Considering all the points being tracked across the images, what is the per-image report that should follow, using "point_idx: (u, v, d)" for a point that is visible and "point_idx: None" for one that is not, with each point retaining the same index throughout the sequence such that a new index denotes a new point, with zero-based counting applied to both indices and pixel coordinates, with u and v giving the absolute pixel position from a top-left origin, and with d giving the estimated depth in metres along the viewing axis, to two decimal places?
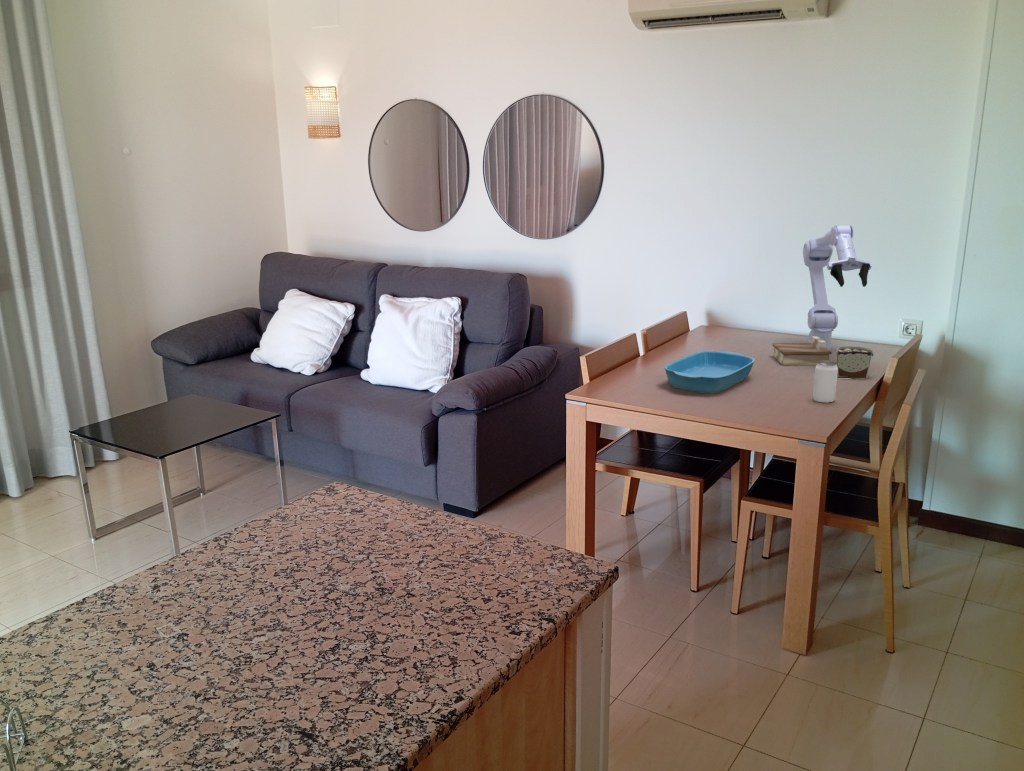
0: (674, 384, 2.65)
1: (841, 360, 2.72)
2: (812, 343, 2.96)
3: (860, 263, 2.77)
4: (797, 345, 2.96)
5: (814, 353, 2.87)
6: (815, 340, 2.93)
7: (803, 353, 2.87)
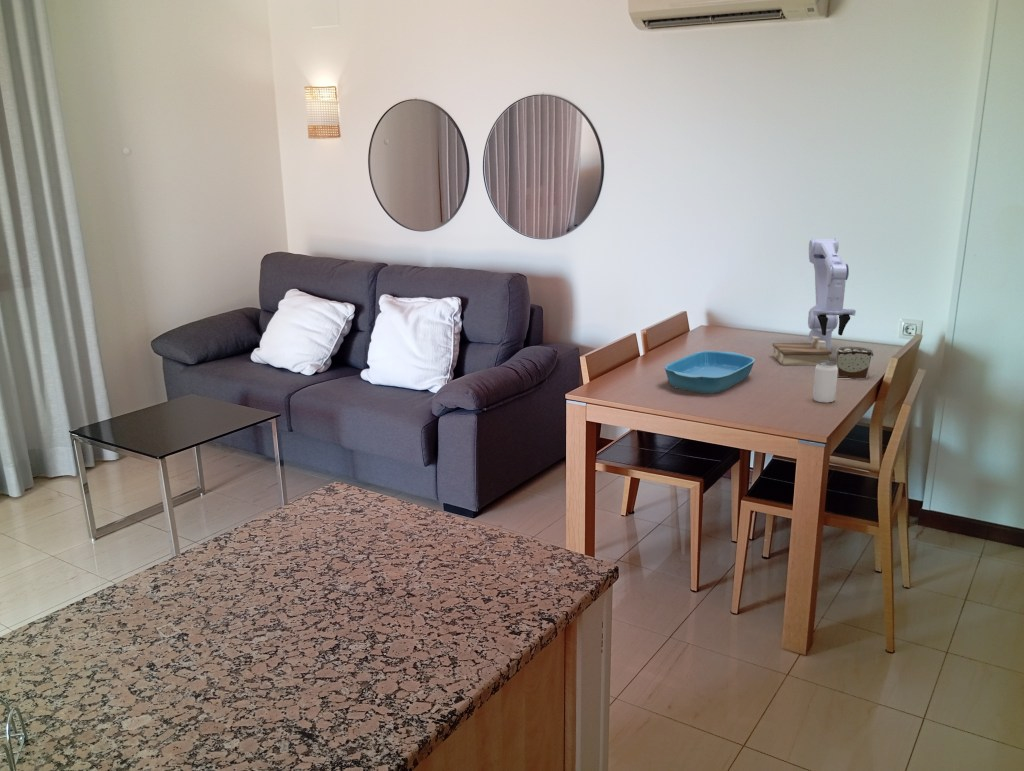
0: (674, 384, 2.65)
1: (841, 360, 2.72)
2: (812, 343, 2.96)
3: None
4: (797, 345, 2.96)
5: (814, 353, 2.87)
6: (815, 340, 2.93)
7: (803, 353, 2.87)
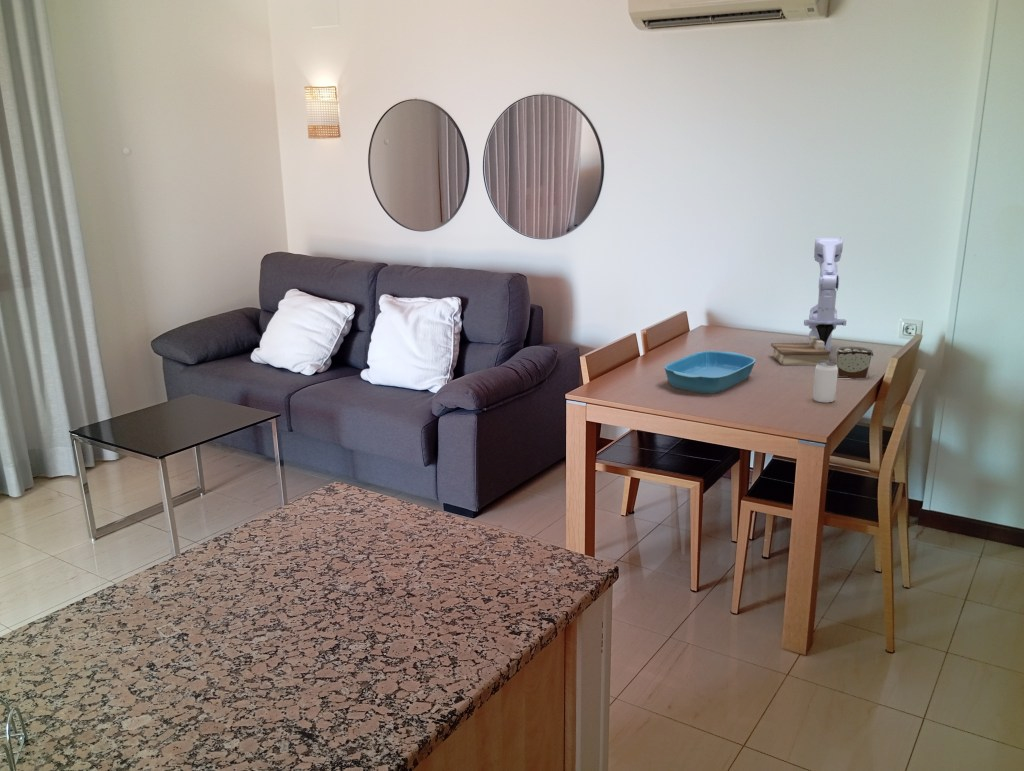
0: (674, 384, 2.65)
1: (841, 360, 2.72)
2: (810, 343, 2.96)
3: None
4: (795, 345, 2.97)
5: (812, 353, 2.87)
6: (813, 340, 2.93)
7: (801, 353, 2.87)
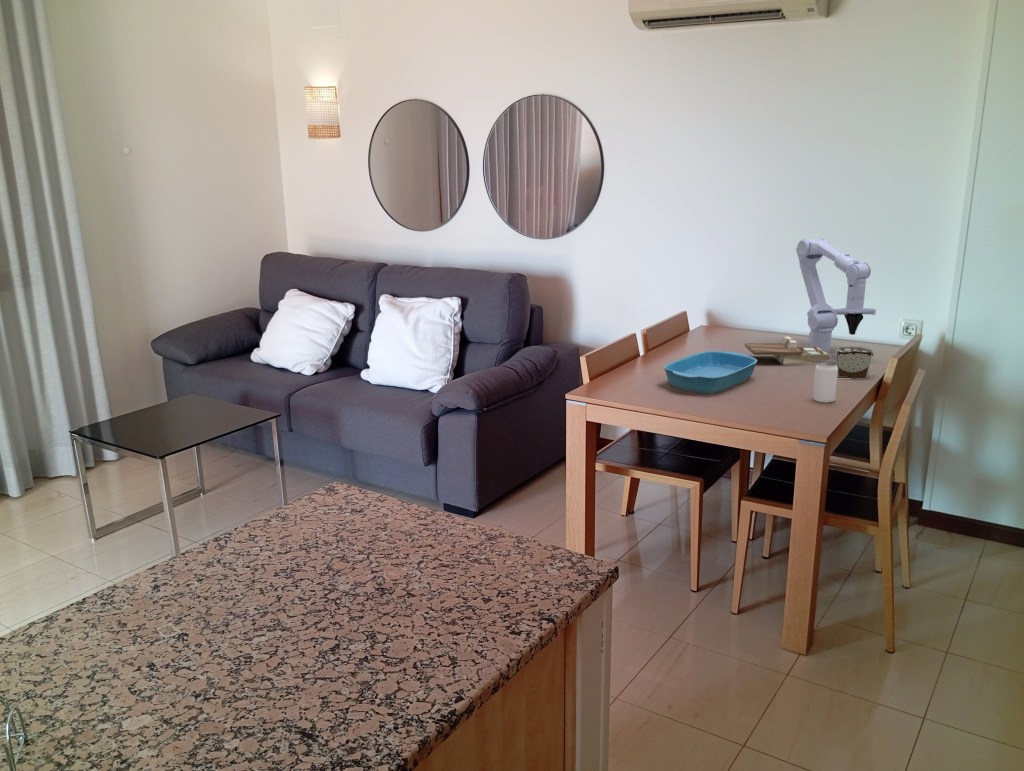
0: (673, 383, 2.65)
1: (841, 360, 2.72)
2: (784, 343, 2.97)
3: None
4: (769, 345, 2.97)
5: (785, 353, 2.87)
6: (787, 340, 2.94)
7: (774, 353, 2.87)
